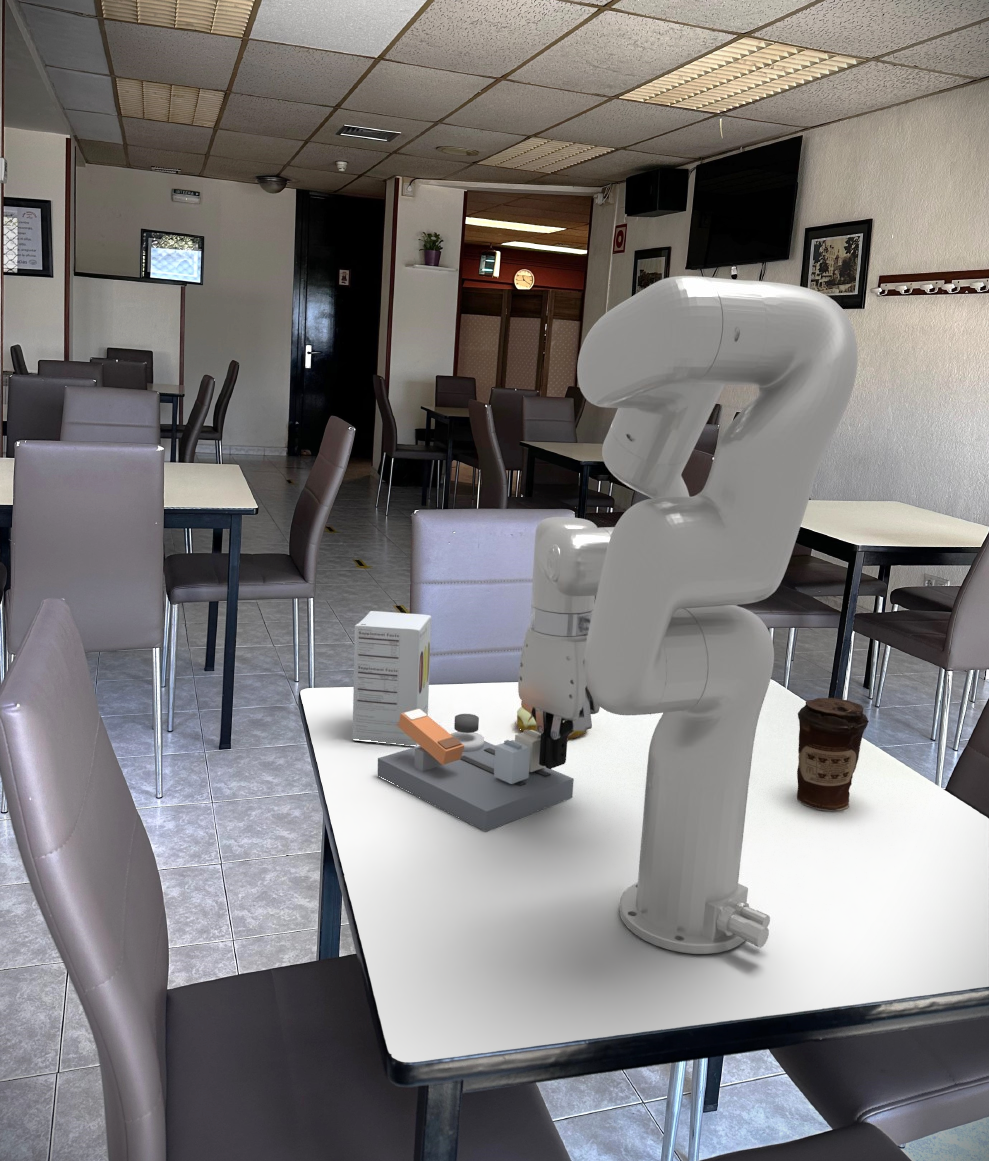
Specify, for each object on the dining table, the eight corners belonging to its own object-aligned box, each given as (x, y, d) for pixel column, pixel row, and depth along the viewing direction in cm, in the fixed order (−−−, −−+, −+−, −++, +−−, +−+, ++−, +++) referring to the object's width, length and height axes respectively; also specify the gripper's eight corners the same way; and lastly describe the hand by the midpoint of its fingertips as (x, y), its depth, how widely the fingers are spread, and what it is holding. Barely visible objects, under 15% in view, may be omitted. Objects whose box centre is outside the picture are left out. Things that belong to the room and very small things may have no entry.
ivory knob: (547, 766, 128) (549, 733, 127) (530, 772, 126) (532, 738, 125) (530, 759, 130) (531, 726, 129) (513, 764, 128) (515, 731, 127)
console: (572, 797, 126) (574, 759, 125) (485, 831, 116) (487, 791, 115) (463, 749, 140) (465, 715, 139) (377, 776, 130) (378, 739, 129)
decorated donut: (514, 717, 155) (515, 693, 154) (584, 719, 155) (586, 696, 154) (517, 741, 145) (519, 716, 144) (592, 744, 145) (594, 719, 144)
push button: (483, 729, 135) (483, 718, 134) (465, 734, 132) (466, 723, 132) (467, 722, 137) (467, 712, 137) (449, 727, 135) (449, 717, 134)
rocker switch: (460, 759, 125) (464, 744, 125) (442, 765, 123) (446, 749, 122) (416, 721, 131) (419, 707, 130) (397, 726, 129) (401, 712, 128)
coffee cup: (862, 821, 123) (875, 720, 121) (791, 812, 125) (803, 712, 122) (852, 793, 132) (864, 697, 129) (786, 785, 133) (796, 690, 131)
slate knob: (528, 778, 124) (530, 744, 123) (511, 784, 122) (513, 749, 121) (511, 770, 126) (512, 737, 125) (493, 776, 124) (495, 742, 123)
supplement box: (416, 748, 140) (420, 630, 136) (351, 742, 141) (353, 625, 137) (428, 724, 149) (432, 613, 146) (367, 719, 150) (369, 609, 147)
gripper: (630, 630, 119) (618, 776, 123) (537, 604, 129) (529, 740, 133) (588, 640, 114) (577, 792, 118) (495, 612, 124) (488, 753, 128)
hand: (552, 764), depth 125 cm, fingers closed
